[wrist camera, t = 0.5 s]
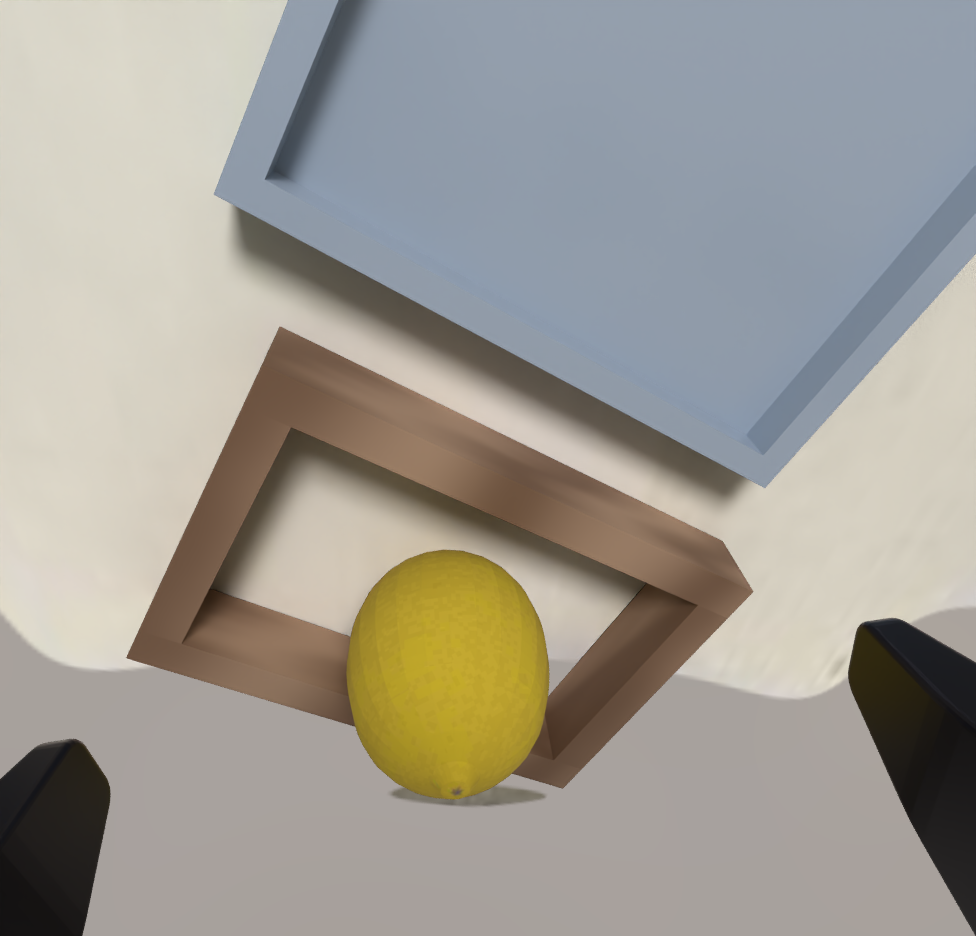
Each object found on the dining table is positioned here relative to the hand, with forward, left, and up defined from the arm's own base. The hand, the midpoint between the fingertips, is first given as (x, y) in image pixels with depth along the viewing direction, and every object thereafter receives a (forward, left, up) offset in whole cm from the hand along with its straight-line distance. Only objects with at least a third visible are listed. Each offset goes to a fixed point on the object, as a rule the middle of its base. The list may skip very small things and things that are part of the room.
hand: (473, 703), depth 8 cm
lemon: (-4, +7, -13) cm, 15 cm away
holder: (-4, +7, -12) cm, 15 cm away
